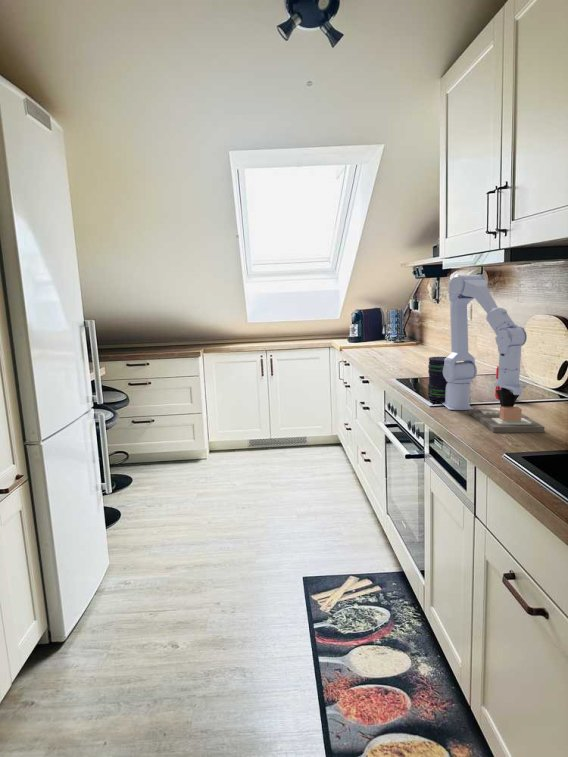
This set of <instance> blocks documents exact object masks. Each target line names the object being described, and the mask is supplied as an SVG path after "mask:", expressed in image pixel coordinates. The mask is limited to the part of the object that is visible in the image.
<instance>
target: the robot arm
mask: <svg viewBox="0 0 568 757" xmlns="http://www.w3.org/2000/svg"><path fill="white" fill-rule="evenodd" d="M488 284H489V282H488V281H487V280H486V278H485V276H484V275H483V274H479V273H478V274H455V275H453V276H452V278H451V279H450V280H449V282H448V298H449V299H448V300H449V314H450V315H449V317H450V320H449V321H450V345H451V346H450V347H451V348H450V349H451V351H450V354H449V355H448V356H445V357H446V358H445V359H444V367H443V376H444V378H445V379H446V381H447V382H448V383H447V385H446V393H445V402H441V404H442V405H443V406H445V408H446V409H448V410H449V411H469V409H475V408H474V407H472V406H471V404H470V403H471V402H470V401H471V383H473V380H474V379H475V378H476V377H477V374H478V368H477V365H476V362H475V361H476V360H475V357H474V356H473V354H471V353H469V329H468V328H469V327H468V326H469V324H468V322H469V321H468V305H469V304H470V303H471V301H473V300H476V302H477V304H479V305H480V307H482V309H483V311H484V312H485V313H486V318H485V320H486V322H488V324H489V326H490V328H491V329H492V331H494V334H495V335H496V336H495V343H496V345H497V351H498V353H499V357H498V365H499V371H498V379H496V378H495V382H494V383H493V386H494V387H496V386H499V387H502V389H501V390H496V393H497V395H498V397H499V399H498V400H499V403H500V407H515V403H516V401H517V400H518V398H519V397H520V396H521V395H522V393H523V388H522V387H521V384H520V376H521V375H520V373H521V358H522V347H523V346H524V345H525V344H526V342H527V339H528V338H527V337H528V335H527V332H526V330H525V328H524V327H522V326H519V325H518V324H516V323H515V322H514V321H513V320H512V318H511V317H510V316H509V313H508V310H506V309H505V308H504V307H499V306H498V305H497V303H496V301H495V300H494V297H493V296H492V294H491V293H490V291H489V289H488Z"/></svg>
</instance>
